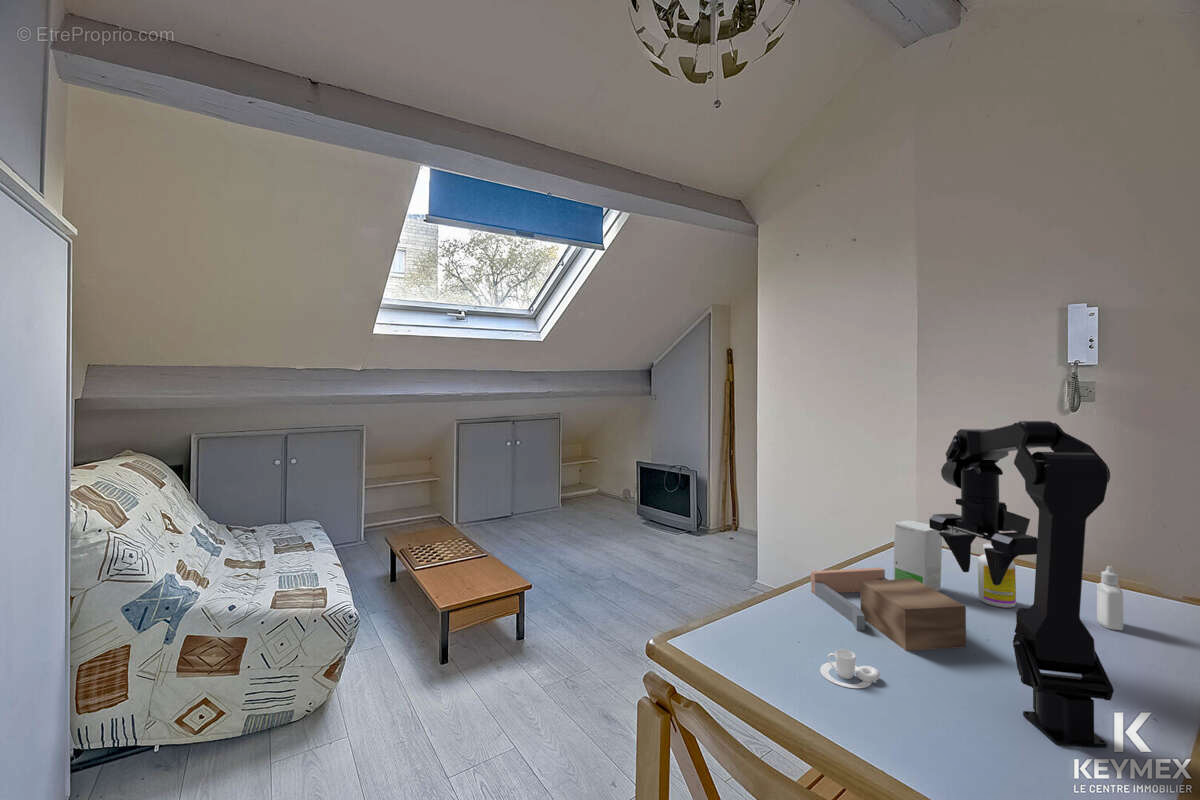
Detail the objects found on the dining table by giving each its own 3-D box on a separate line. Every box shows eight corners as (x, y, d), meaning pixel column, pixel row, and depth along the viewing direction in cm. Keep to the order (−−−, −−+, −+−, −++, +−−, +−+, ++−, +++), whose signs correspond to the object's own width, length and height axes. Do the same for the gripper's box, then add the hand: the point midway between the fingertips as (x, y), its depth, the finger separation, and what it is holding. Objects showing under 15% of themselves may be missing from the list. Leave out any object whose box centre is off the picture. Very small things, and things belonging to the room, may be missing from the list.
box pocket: (951, 625, 102) (951, 600, 102) (858, 631, 100) (858, 606, 100) (885, 587, 123) (885, 567, 122) (806, 592, 120) (806, 571, 120)
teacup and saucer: (884, 678, 84) (883, 655, 84) (868, 699, 79) (868, 674, 79) (830, 659, 91) (830, 637, 91) (812, 677, 85) (812, 654, 85)
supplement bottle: (1023, 609, 109) (1022, 551, 109) (988, 607, 110) (988, 550, 110) (1004, 597, 115) (1004, 542, 115) (972, 595, 117) (972, 541, 117)
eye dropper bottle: (1090, 624, 102) (1090, 566, 102) (1099, 617, 105) (1099, 561, 104) (1120, 633, 98) (1120, 572, 98) (1129, 625, 101) (1129, 567, 101)
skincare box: (892, 584, 125) (891, 522, 124) (909, 579, 127) (908, 519, 127) (926, 596, 117) (925, 530, 117) (943, 591, 120) (943, 526, 120)
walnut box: (966, 648, 94) (965, 606, 93) (905, 651, 93) (905, 609, 93) (913, 615, 108) (913, 578, 107) (860, 618, 107) (860, 581, 107)
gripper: (1069, 504, 85) (1070, 595, 85) (976, 485, 104) (977, 560, 104) (1011, 507, 84) (1012, 599, 84) (927, 487, 102) (927, 562, 103)
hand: (980, 578), depth 94 cm, fingers open, 6 cm apart
